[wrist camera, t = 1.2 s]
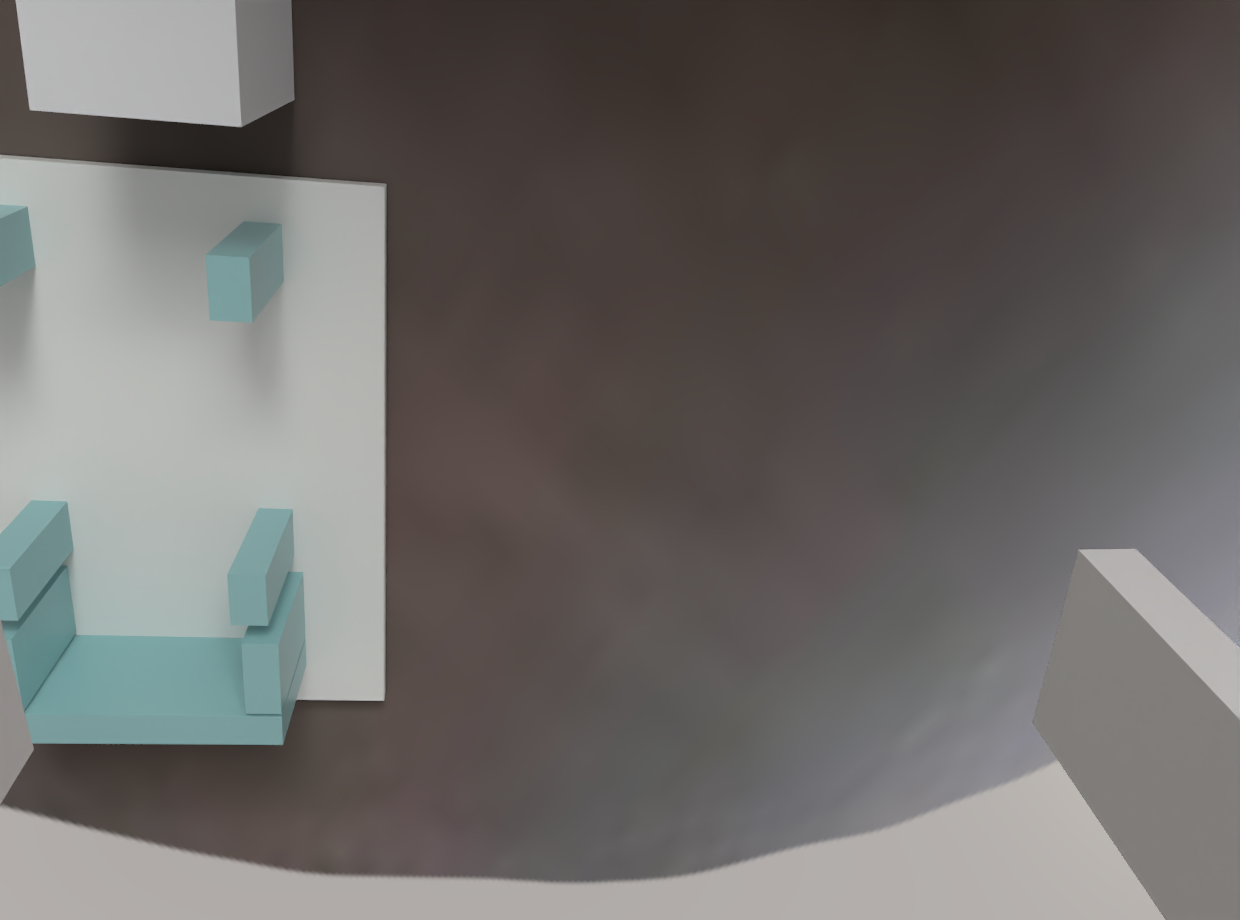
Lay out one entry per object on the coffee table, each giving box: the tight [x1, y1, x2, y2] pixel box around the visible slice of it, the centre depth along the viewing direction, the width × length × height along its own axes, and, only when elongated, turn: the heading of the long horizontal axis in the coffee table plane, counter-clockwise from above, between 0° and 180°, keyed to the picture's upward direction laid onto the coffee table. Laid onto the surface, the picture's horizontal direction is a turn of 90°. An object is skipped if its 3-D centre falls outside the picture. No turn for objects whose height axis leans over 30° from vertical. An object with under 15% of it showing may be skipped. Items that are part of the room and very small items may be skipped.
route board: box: [0, 155, 387, 745], centre depth 29 cm, size 17×13×4 cm
